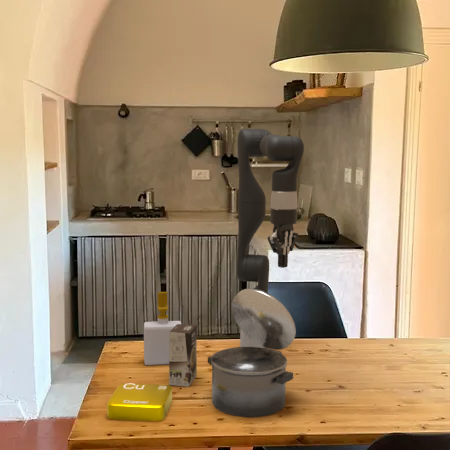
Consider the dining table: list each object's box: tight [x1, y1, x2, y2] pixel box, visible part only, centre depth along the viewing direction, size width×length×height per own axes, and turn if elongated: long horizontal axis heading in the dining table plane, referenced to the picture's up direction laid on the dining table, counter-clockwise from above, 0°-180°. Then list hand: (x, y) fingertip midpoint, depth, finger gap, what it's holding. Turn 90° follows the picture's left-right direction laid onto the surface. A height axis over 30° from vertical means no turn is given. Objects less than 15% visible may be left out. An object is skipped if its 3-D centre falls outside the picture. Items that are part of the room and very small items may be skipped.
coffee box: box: [168, 323, 198, 388], centre depth 179 cm, size 9×6×16 cm
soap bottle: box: [143, 291, 182, 366], centre depth 195 cm, size 12×7×23 cm, turn 99°
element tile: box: [106, 382, 173, 423], centre depth 160 cm, size 15×15×5 cm
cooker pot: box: [207, 346, 294, 418], centre depth 165 cm, size 22×25×12 cm
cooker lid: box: [231, 288, 297, 351], centre depth 168 cm, size 20×20×3 cm
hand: (282, 267), depth 174 cm, fingers closed
